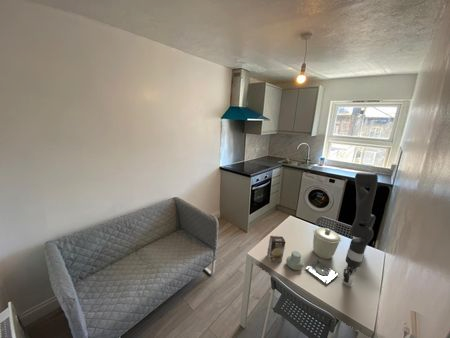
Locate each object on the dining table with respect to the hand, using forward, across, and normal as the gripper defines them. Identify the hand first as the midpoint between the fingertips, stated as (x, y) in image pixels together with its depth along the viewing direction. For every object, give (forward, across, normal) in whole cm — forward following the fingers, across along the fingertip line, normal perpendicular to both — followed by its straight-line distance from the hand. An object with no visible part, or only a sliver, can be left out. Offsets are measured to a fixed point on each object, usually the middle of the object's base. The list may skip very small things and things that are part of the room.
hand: (347, 279), depth 116 cm
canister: (+3, -14, -23) cm, 27 cm away
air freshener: (+3, +16, -26) cm, 31 cm away
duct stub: (+2, 0, 0) cm, 2 cm away
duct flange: (+3, +5, -13) cm, 15 cm away
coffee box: (+3, +22, -38) cm, 44 cm away
